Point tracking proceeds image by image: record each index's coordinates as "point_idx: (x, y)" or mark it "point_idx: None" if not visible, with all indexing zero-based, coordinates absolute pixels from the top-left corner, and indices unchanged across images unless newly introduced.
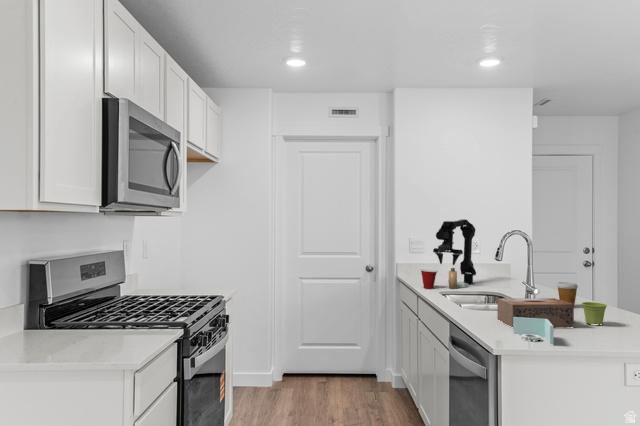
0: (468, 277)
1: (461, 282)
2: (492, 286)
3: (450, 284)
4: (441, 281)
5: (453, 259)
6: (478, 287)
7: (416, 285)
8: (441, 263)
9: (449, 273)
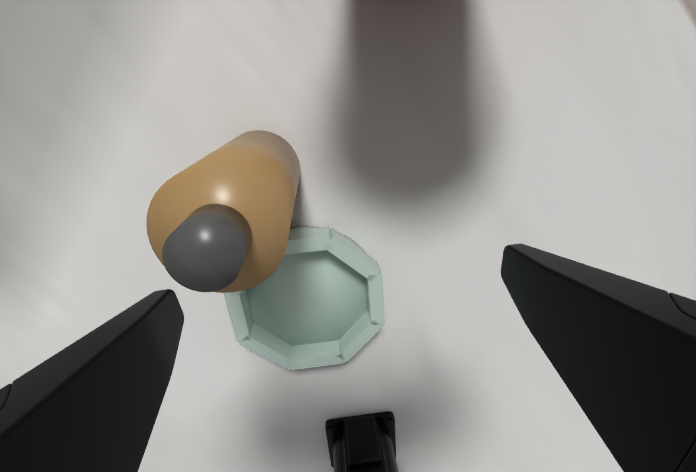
0: (345, 469)
1: (327, 359)
2: (189, 467)
3: (249, 136)
4: (554, 382)
5: (26, 391)
6: (198, 375)
7: (622, 19)
8: (506, 274)
9: (240, 162)
